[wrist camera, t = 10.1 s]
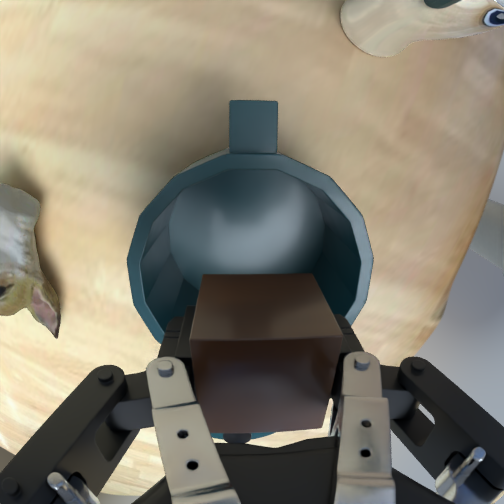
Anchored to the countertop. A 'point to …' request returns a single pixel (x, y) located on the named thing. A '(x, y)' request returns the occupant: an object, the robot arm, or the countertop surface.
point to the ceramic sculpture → (23, 261)
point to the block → (263, 352)
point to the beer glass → (415, 22)
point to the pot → (247, 225)
